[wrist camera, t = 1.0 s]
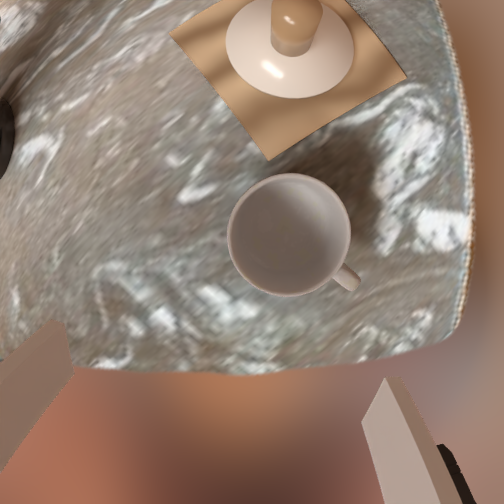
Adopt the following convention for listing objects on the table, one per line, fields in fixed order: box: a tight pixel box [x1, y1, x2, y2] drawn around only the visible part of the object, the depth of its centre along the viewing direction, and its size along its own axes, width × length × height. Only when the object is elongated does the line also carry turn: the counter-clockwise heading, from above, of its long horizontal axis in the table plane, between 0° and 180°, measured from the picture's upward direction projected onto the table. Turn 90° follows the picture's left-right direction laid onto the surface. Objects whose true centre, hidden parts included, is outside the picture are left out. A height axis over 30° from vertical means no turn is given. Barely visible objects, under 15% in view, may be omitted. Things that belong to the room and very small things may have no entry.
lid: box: [226, 0, 354, 99], centre depth 22 cm, size 14×14×8 cm
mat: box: [169, 0, 407, 161], centre depth 26 cm, size 20×20×1 cm
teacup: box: [227, 173, 361, 297], centre depth 29 cm, size 14×11×8 cm
